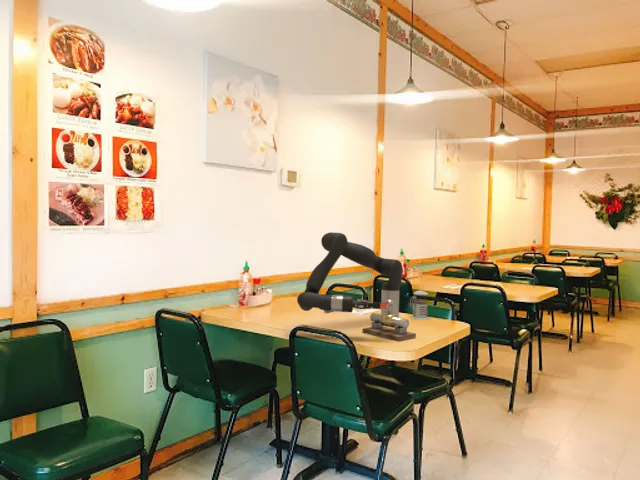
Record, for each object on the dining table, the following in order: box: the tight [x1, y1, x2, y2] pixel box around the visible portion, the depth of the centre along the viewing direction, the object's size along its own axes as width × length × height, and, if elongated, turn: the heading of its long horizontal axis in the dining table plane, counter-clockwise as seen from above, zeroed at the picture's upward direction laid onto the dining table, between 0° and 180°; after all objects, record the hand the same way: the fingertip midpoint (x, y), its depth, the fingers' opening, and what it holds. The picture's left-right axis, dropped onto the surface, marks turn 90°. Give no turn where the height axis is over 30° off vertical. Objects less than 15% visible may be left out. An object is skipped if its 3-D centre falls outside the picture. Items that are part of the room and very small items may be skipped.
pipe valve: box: [369, 305, 410, 335], centre depth 239 cm, size 20×6×12 cm, turn 42°
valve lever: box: [379, 299, 393, 310], centre depth 232 cm, size 3×16×2 cm, turn 161°
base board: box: [361, 326, 417, 342], centre depth 239 cm, size 22×12×2 cm, turn 42°
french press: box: [409, 272, 429, 321], centre depth 284 cm, size 10×12×25 cm
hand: (381, 305), depth 228 cm, fingers closed
